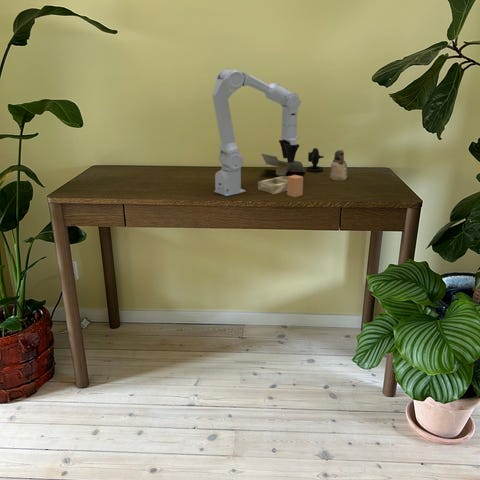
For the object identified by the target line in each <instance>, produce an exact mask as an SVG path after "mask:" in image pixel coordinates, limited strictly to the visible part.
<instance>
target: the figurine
mask: <svg viewBox="0 0 480 480" xmlns="http://www.w3.org/2000/svg"><path fill="white" fill-rule="evenodd" d="M330 164H331V165H330V171H329V172H330V173H329V179H330V180H333V181H339V182H341V181H346V180H347V179H348V165H347V161H346V160H345V151H344V150H342V149H338V150H336V151H335V152H334V157H333V160H332V163H330Z"/></svg>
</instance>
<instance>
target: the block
mask: <svg viewBox="0 0 480 480" xmlns="http://www.w3.org/2000/svg"><path fill="white" fill-rule="evenodd" d="M287 177H288V186H287V191H286V192H287V193H286V196H289V197H293V198H296V197H297V198H298V197H301V196H303V194H304V193H303V191H304V190H303V189H304V176H302V175H297V174H292V175H288V176H287Z"/></svg>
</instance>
